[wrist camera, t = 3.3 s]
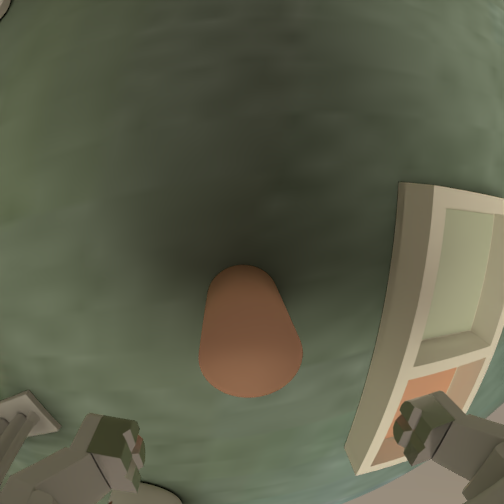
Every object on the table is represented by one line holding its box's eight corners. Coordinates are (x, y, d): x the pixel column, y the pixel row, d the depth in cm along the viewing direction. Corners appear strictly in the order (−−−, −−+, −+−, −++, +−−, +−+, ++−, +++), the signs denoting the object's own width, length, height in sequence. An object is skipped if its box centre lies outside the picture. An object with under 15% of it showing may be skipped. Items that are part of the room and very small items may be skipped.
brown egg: (206, 264, 16) (195, 313, 10) (279, 264, 16) (307, 311, 11) (208, 330, 17) (202, 397, 11) (275, 329, 17) (297, 394, 12)
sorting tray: (398, 181, 16) (434, 185, 12) (495, 198, 17) (527, 204, 13) (343, 447, 21) (355, 475, 18) (431, 423, 22) (447, 444, 19)
